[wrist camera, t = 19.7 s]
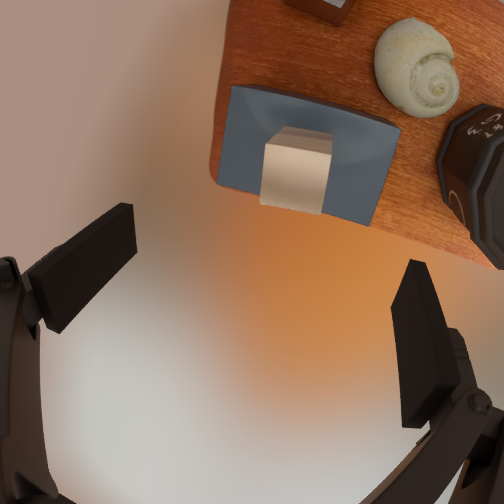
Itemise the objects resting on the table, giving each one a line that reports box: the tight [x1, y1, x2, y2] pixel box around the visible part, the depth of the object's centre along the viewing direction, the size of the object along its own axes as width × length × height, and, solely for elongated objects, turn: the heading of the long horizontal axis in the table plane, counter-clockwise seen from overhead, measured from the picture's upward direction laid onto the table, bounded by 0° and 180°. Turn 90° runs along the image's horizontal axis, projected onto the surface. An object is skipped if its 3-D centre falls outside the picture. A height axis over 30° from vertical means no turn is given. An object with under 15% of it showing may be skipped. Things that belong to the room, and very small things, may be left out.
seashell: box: [374, 17, 460, 118], centre depth 29 cm, size 13×8×10 cm
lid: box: [217, 85, 401, 226], centre depth 33 cm, size 12×18×1 cm, turn 80°
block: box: [259, 126, 333, 215], centre depth 28 cm, size 5×5×10 cm
